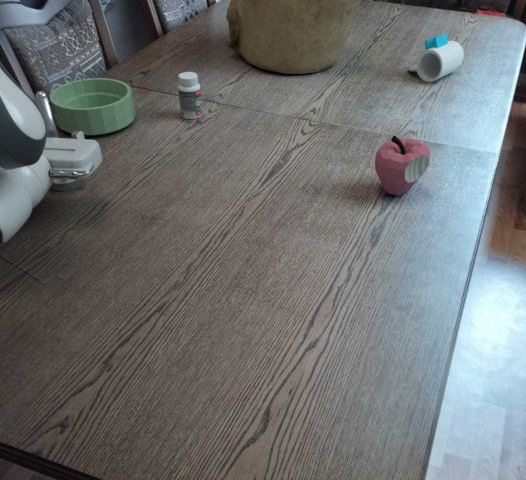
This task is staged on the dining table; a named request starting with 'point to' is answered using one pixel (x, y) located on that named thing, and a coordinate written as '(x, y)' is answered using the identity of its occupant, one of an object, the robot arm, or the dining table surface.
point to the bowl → (93, 106)
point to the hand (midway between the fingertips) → (54, 133)
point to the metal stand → (52, 133)
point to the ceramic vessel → (290, 32)
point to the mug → (438, 58)
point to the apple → (401, 164)
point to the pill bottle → (189, 95)
